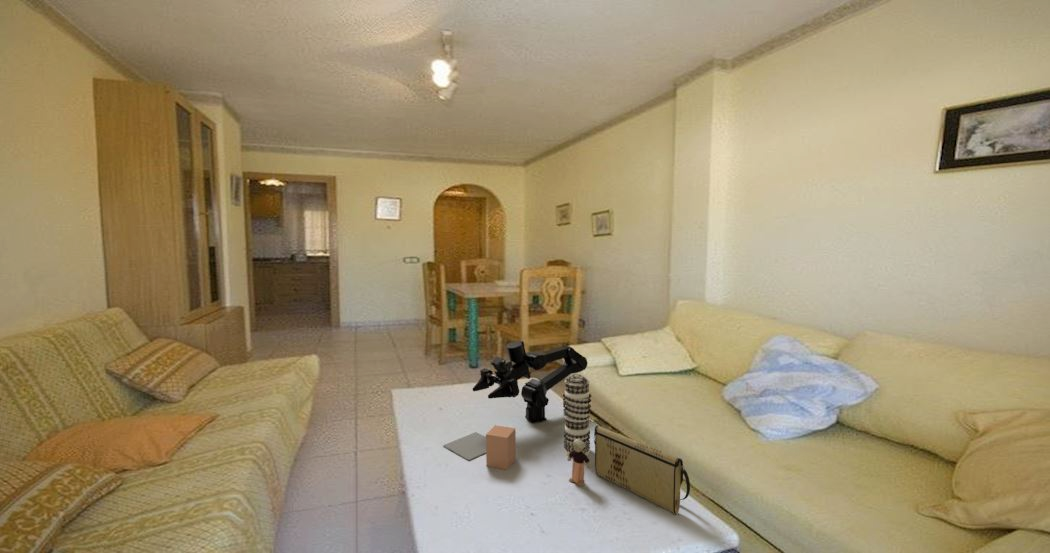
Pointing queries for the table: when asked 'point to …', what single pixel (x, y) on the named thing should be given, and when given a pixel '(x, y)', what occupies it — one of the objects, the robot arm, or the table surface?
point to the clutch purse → (640, 468)
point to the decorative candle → (576, 412)
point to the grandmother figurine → (578, 462)
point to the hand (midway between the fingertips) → (480, 393)
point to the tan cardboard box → (500, 447)
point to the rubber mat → (468, 446)
